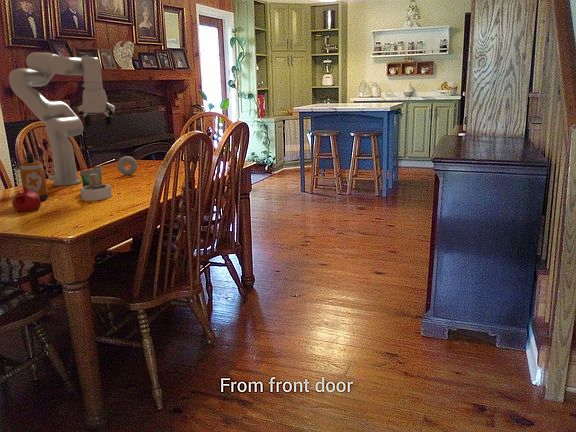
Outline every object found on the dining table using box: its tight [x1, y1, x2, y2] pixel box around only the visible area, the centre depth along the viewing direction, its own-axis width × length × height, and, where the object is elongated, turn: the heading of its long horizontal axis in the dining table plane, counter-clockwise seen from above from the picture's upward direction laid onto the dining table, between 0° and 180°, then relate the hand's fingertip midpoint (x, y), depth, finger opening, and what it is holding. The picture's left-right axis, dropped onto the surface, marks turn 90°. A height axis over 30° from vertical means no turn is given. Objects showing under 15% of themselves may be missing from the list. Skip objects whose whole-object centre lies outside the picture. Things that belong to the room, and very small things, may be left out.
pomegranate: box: [11, 186, 42, 213], centre depth 190 cm, size 10×10×9 cm
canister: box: [19, 152, 49, 202], centre depth 206 cm, size 9×11×20 cm
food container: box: [79, 166, 104, 187], centre depth 221 cm, size 12×6×10 cm, turn 168°
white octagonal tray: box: [79, 183, 113, 202], centre depth 208 cm, size 11×11×4 cm
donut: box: [116, 155, 138, 176], centre depth 257 cm, size 10×4×10 cm, turn 109°
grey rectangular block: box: [89, 174, 101, 187], centre depth 207 cm, size 3×3×9 cm
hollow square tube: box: [86, 183, 105, 190], centre depth 208 cm, size 6×6×4 cm
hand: (98, 125), depth 223 cm, fingers open, 9 cm apart
